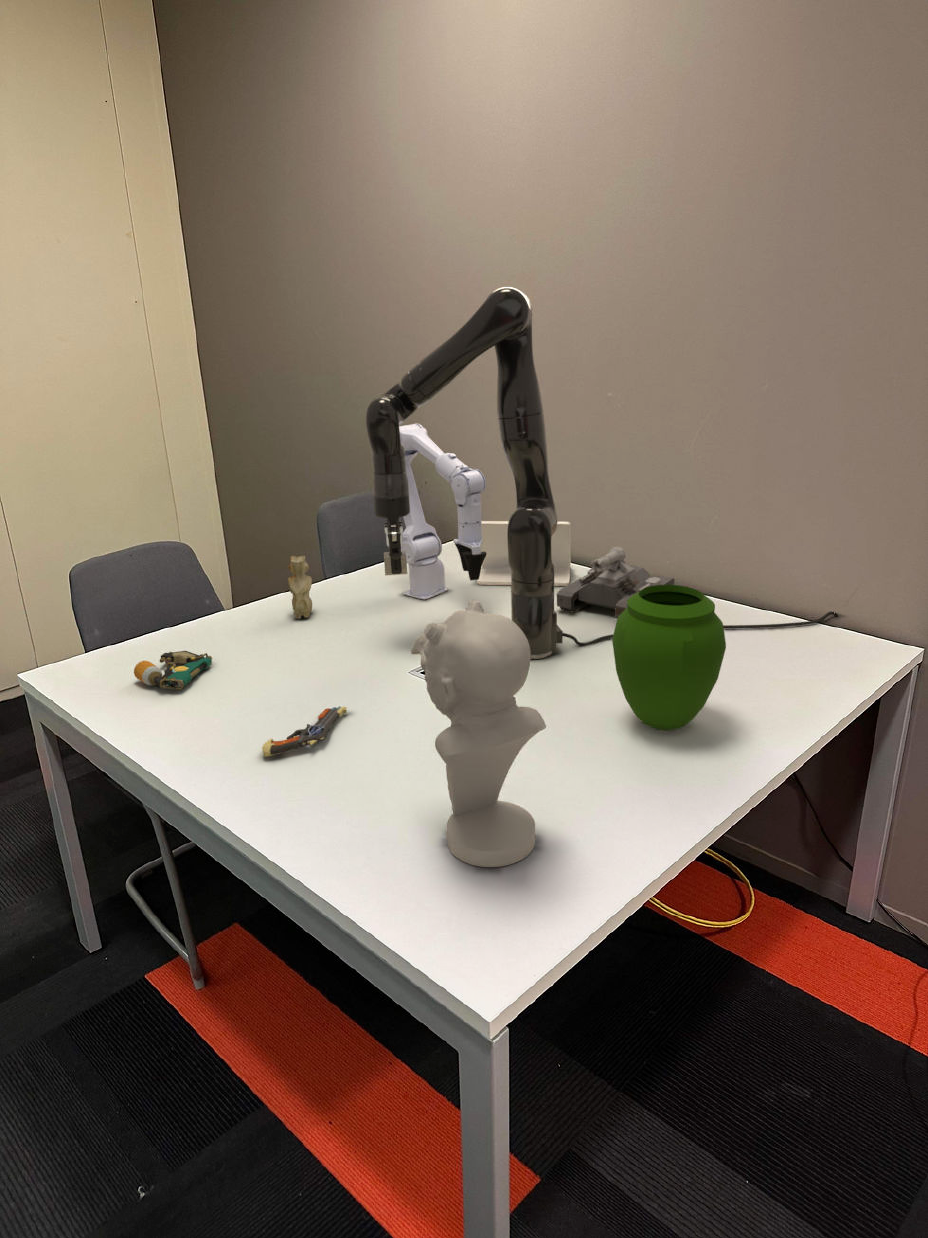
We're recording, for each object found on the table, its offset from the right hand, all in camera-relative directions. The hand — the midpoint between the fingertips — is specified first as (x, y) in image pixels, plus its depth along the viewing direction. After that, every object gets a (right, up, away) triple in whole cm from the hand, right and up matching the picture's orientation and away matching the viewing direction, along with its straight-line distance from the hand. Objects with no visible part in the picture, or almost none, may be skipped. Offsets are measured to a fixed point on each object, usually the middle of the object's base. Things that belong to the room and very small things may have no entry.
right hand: (396, 569), depth 186 cm
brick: (0, 0, 0) cm, 0 cm away
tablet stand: (+32, +1, +53) cm, 62 cm away
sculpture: (-25, -10, +27) cm, 38 cm away
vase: (+51, -30, -31) cm, 67 cm away
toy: (+53, -7, +28) cm, 60 cm away
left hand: (+16, 0, +24) cm, 29 cm away
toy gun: (-14, -32, -32) cm, 47 cm away
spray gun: (-46, -23, -6) cm, 52 cm away
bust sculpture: (+16, -42, -61) cm, 76 cm away
